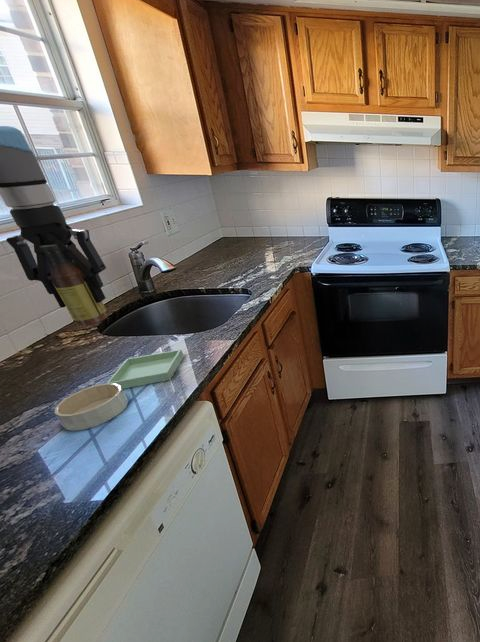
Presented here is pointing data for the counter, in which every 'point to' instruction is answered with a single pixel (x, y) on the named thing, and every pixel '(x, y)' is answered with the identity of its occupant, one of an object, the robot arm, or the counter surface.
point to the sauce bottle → (73, 287)
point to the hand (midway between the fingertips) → (83, 302)
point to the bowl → (91, 406)
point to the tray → (147, 369)
